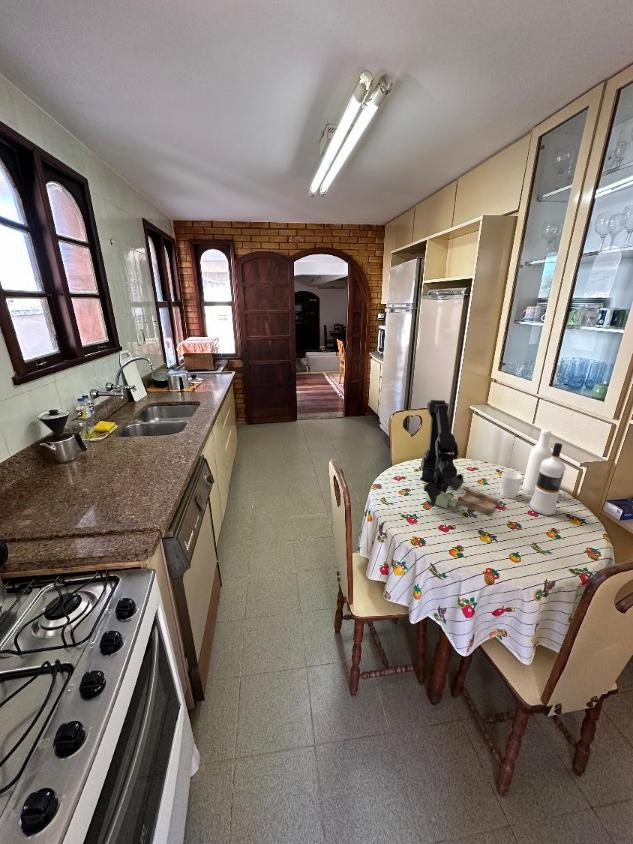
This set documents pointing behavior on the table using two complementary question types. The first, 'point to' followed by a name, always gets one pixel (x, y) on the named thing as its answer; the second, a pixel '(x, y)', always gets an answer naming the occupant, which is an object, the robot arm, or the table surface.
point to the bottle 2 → (536, 461)
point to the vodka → (548, 483)
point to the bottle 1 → (444, 500)
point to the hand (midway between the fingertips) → (438, 499)
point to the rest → (478, 502)
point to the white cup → (510, 484)
